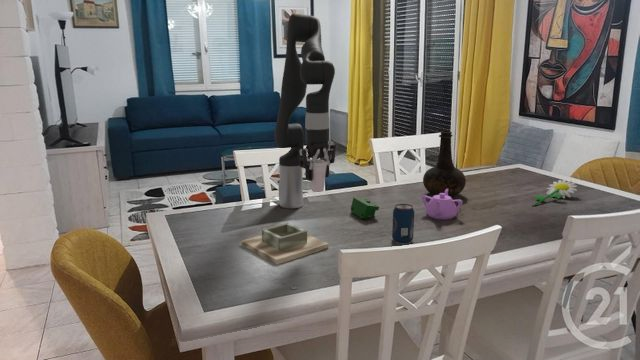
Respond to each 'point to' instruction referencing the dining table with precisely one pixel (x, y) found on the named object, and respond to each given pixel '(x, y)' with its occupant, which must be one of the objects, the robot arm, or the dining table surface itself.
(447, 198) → the teapot
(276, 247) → the collar stand
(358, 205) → the toy dumpster
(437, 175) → the glass bottle
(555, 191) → the decorative flower
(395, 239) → the soda can
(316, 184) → the smoothie
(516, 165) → the dining table surface
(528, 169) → the dining table surface
